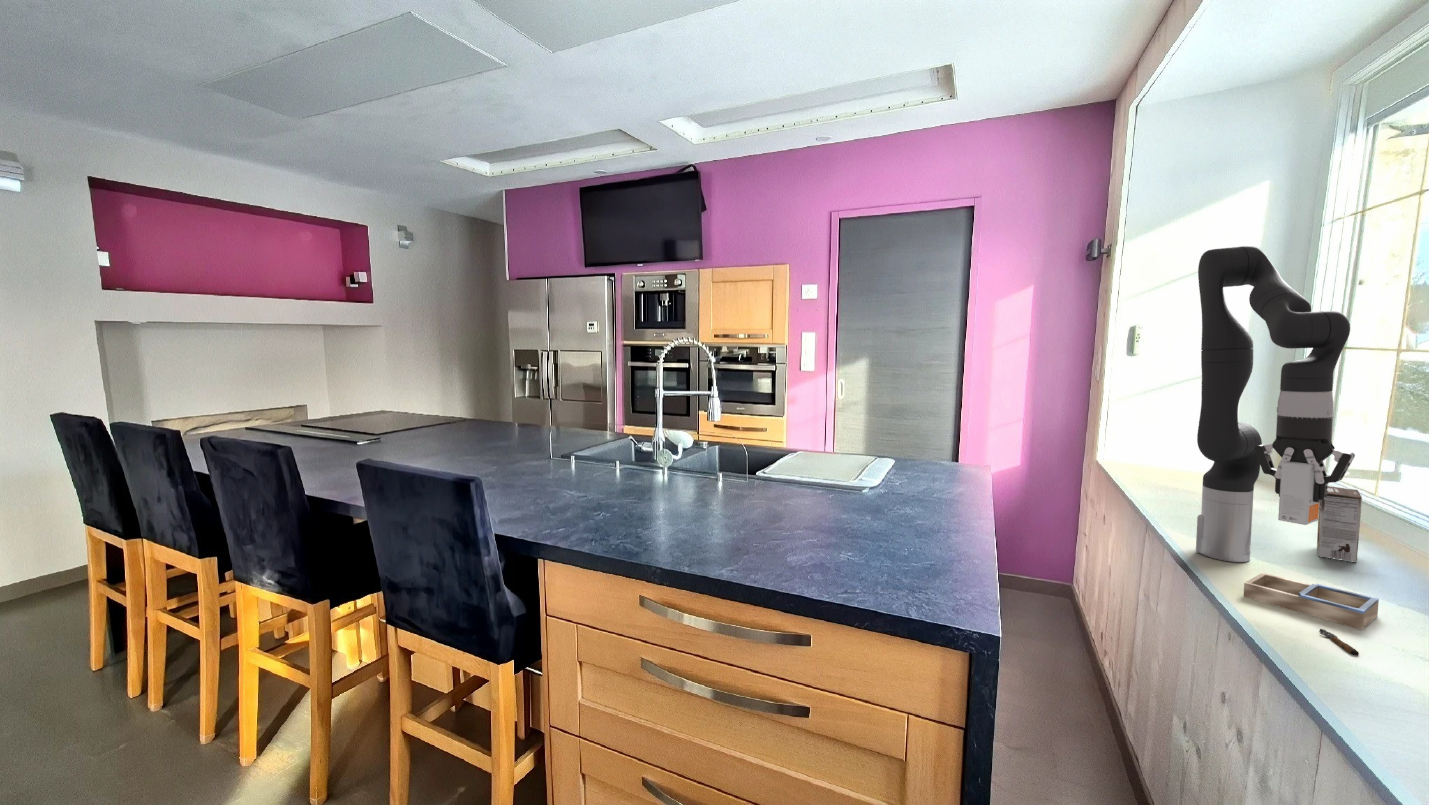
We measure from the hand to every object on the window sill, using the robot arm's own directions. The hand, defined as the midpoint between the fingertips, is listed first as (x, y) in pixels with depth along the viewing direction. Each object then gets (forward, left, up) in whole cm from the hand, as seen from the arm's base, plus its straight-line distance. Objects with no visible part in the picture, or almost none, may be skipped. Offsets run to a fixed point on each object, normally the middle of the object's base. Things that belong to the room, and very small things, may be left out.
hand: (1299, 498), depth 110 cm
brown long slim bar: (+9, -14, -22) cm, 28 cm away
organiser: (+2, 0, -21) cm, 22 cm away
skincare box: (0, 0, -5) cm, 5 cm away
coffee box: (-4, +42, -22) cm, 47 cm away
